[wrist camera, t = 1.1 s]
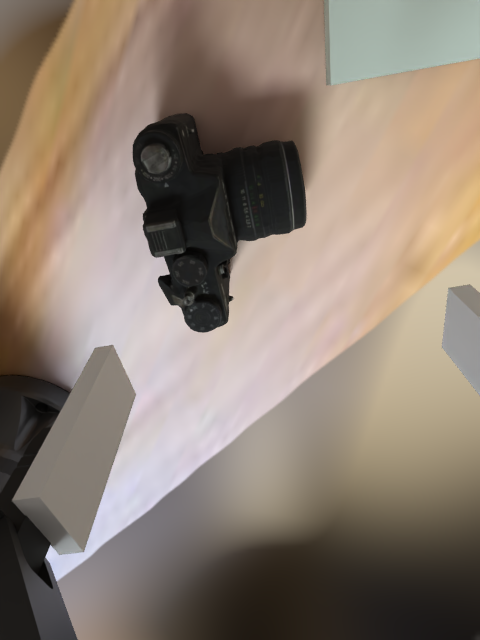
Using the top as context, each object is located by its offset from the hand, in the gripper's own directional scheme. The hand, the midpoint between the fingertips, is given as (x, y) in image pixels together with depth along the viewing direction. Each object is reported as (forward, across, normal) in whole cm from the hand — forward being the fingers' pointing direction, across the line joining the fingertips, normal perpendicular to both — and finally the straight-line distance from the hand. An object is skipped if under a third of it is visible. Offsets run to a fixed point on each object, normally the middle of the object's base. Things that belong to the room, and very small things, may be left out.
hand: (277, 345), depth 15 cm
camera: (+19, -2, +1) cm, 20 cm away
